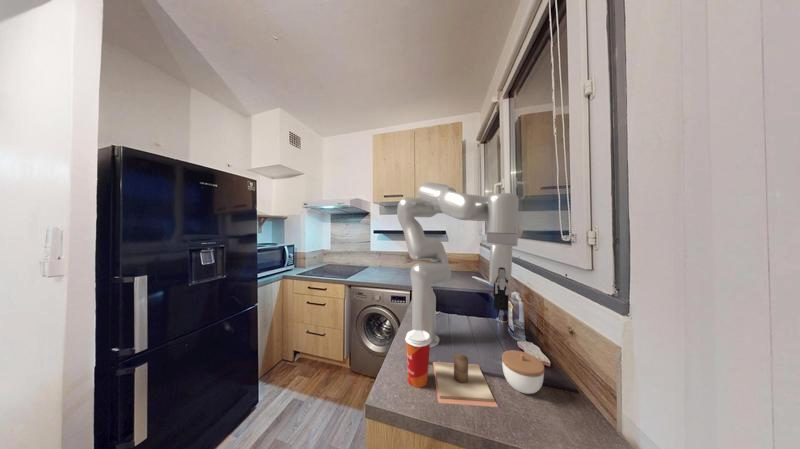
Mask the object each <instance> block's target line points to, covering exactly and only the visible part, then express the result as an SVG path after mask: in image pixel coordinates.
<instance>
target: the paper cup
mask: <svg viewBox="0 0 800 449" xmlns="http://www.w3.org/2000/svg"><path fill="white" fill-rule="evenodd" d="M404 339H405V342H406V364H407V366H406V369H407V381H408V384H409V385H410V386H412V387H413V388H424V387H425V386H427V383H428V376H429V363H430V361H429V360H430V343H431V338H430V335H429V334H428V333H427V332H426V331H421V330H418V331H417V330H412V329H411V330H410V331H408V332H407V333H406V336H405V338H404Z"/></svg>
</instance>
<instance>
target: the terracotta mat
mask: <svg viewBox="0 0 800 449" xmlns="http://www.w3.org/2000/svg"><path fill="white" fill-rule="evenodd" d="M435 362H436V363H443V362H439V361H433V362H432V367H433V374H434V380H435V387H436V388H435V389H436V394H437V396H436V397H437V401H438V402H437V403H438V404H446V405H447V404H449V405H462V406H474V407H476V406H477V407H491V408H498V407H499V406H498V404H497V403H496V399H495V398H494V396H493V393H492V391H491V389H490V388H489V390H490V392H491V394H492V396H493V398H494V402H485V401H471V400H456V399H441V398H440V397H439V391H438V384H437V377H436V370H435ZM470 364H471V365H478V366H479V364H475V363H470ZM479 368H480V366H479ZM480 370H481V371H482V369H481V368H480ZM482 375H483V377H484V379H485V375H484V374H483V373H482ZM485 381H486V383H487V380H486V379H485ZM487 385H488V386H489V384H488V383H487Z"/></svg>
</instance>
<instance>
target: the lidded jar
mask: <svg viewBox="0 0 800 449" xmlns="http://www.w3.org/2000/svg"><path fill="white" fill-rule="evenodd" d="M501 361H502V362H501V364H502V366H501V367H502V371H503V375H504V378H505V380H506V381H507V383H508V384H509V385H510V386H511V387H512V388H513V389H514V390H516V391H517V392H519V393H522V394H525V395H532V394H536V393H538V392H539V391H540V390H541V388H542V386H543V383H544V380H545V379H544V377H545V365H544V363H543V362H542V361H541V360H540V359H539V358H537V357H536V356H534V355H532V354H530V353H527V352H524V351H520V350H516V349H515V350H513V349H511V350H507V351H506V350H505V351H504V352H503V353H502V354H501Z"/></svg>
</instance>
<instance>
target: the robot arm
mask: <svg viewBox="0 0 800 449" xmlns="http://www.w3.org/2000/svg"><path fill="white" fill-rule="evenodd" d="M417 196H418V197H414V196H413V197H412V196H410V197H404V198H401V199H400V200H399V202H398V204H397V207H396V208H397V209H396V211H397V212H396V214H397V218H398V222H399V224H400V226H401V228H402V231H403V235H404V238H405V239H404V240H405V244H406V248H407V252H408V255H409V257H410V259H411V260H413V261H423V262H418V263H415V264H414V265H412V266H411V268H410V272H409V275H410V282H411V292H412V293H411V294H412V295H411V296H412V298H411V300H412V301H411V302H412V304H411V306H412V307H411V308H412V309H411V314H412V315H411V330H417V331H418V330H421V331H426V332H427V333H428V334H429V335H430V338H431V343H430V348H431V349H432V348H434V347H437V346H438V345H439V344H440V337H439V336H438V334H436V327H437V326H436V323H437V322H436V321H437V318H436V317H437V316H436V314H437V312H436V311H437V309H436V308H437V296H436V294H435V291H434V290H433V288H432V286H437V285H442V284H443V285H444V284H446V283H448V282H450V280H451V276H452V270H451V266H450V263H449V260H448V256H447V254H446V249H445V247H444V244H443V242H442V241H441V240H440V239H438V238H436V237H426V235H425V232H424V228H423V227H422V225H421V223H420V222H419V220H417V219H416V218H432V217H435V216H436V215H437V214H439V212H441V213H443V215H446V216H449V217H452V218H454V219H457V220H461V221H472V222H473V221H474V222H486V223H487V224H486V245H488V246H490V248H489V249H490V250H489V284H493V296H492V297H493V309H494V310H496V311H497V310H498V311H504V312H508V311H509V291H508V290H509V289H508V286H509V285H511V282H512V281H511V278H512V268H513V247H518V240H519V239H518V236H519V234H518V232H519V197H518V195H517V194H515V193H511V192H509V193H508V192H500V193H499V192H497V193H493V194H491V195H489V196H485V195H477V194H468V193H462V192H457V190H456V189H455V188H454V187H453V186H449V185H447V184H443V183H435V182H425V183H423V184H421V185H419V187H418V190H417ZM425 260H426V261H425ZM428 260H430V261H428Z"/></svg>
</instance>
